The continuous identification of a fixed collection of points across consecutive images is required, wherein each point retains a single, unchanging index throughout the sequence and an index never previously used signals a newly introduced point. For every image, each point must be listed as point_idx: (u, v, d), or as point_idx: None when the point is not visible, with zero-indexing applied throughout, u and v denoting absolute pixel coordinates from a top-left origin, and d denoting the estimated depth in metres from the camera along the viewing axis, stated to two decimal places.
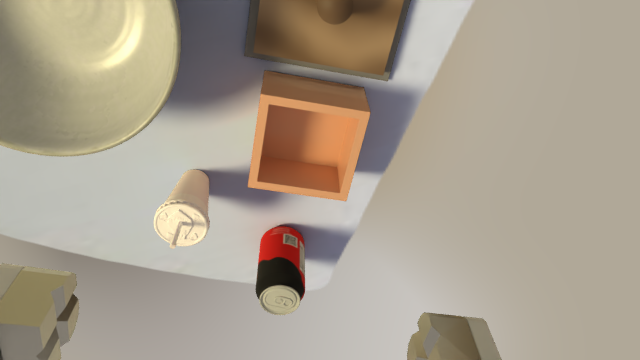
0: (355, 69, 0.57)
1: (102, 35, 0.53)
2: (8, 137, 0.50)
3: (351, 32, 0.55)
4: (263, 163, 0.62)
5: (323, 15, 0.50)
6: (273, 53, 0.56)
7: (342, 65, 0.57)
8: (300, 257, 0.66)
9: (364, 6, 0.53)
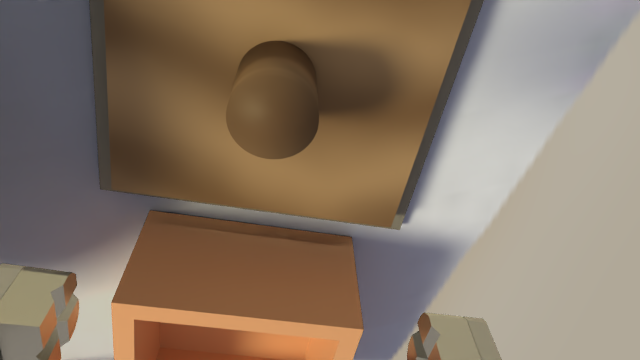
0: (333, 217, 0.27)
1: None
2: None
3: (322, 150, 0.25)
4: None
5: (244, 140, 0.20)
6: (155, 190, 0.26)
7: (305, 210, 0.27)
8: None
9: (350, 99, 0.23)
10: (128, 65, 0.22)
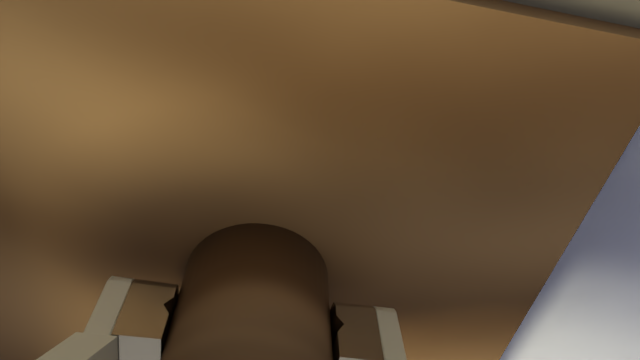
0: None
1: None
2: None
3: None
4: None
5: None
6: None
7: None
8: None
9: (385, 304, 0.13)
10: None
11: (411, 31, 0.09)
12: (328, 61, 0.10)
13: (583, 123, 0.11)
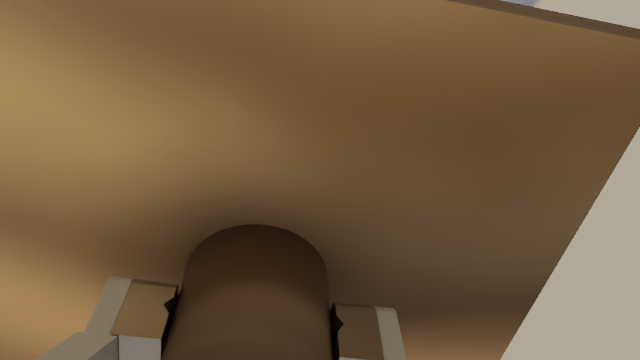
0: None
1: None
2: None
3: None
4: None
5: None
6: None
7: None
8: None
9: (385, 305, 0.13)
10: None
11: (411, 31, 0.09)
12: (328, 62, 0.10)
13: (584, 124, 0.11)
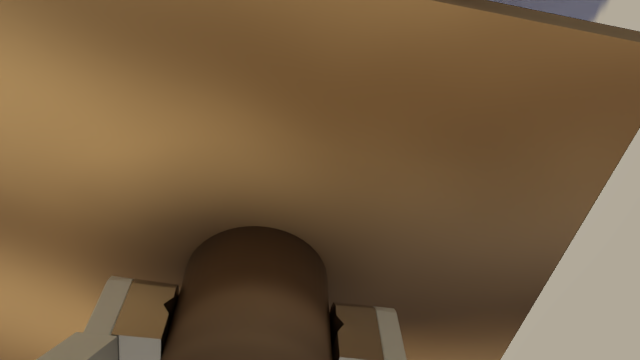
0: None
1: None
2: None
3: None
4: None
5: None
6: None
7: None
8: None
9: (385, 306, 0.13)
10: None
11: (411, 34, 0.09)
12: (327, 64, 0.10)
13: (583, 126, 0.11)
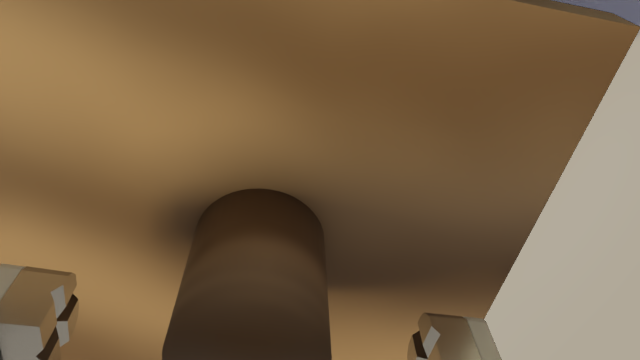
0: None
1: None
2: None
3: (332, 330, 0.16)
4: None
5: None
6: None
7: None
8: None
9: (377, 266, 0.15)
10: (15, 225, 0.13)
11: (397, 10, 0.11)
12: (324, 38, 0.11)
13: (553, 95, 0.12)
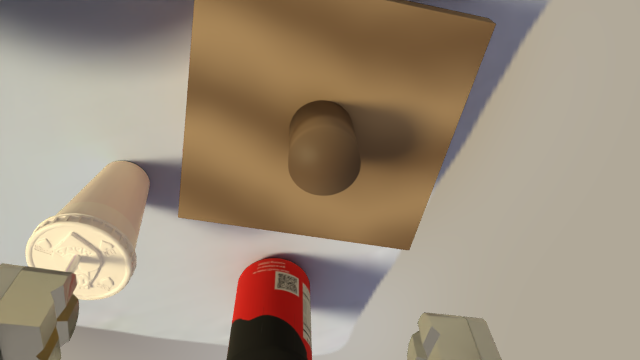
0: (361, 241, 0.32)
1: None
2: None
3: (354, 186, 0.30)
4: None
5: (301, 180, 0.25)
6: (214, 217, 0.31)
7: (338, 235, 0.32)
8: (303, 314, 0.39)
9: (379, 146, 0.29)
10: (203, 118, 0.27)
11: (389, 15, 0.25)
12: (357, 27, 0.25)
13: (460, 55, 0.26)
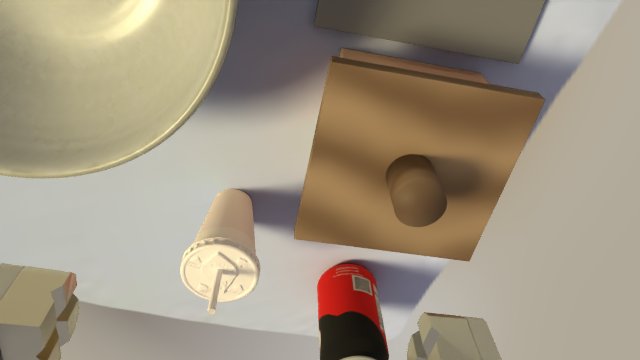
0: (432, 255, 0.42)
1: None
2: None
3: None
4: None
5: (402, 217, 0.34)
6: (322, 239, 0.40)
7: (415, 251, 0.41)
8: (377, 309, 0.48)
9: (452, 185, 0.38)
10: (322, 168, 0.37)
11: (467, 95, 0.34)
12: (443, 103, 0.34)
13: (517, 121, 0.35)
